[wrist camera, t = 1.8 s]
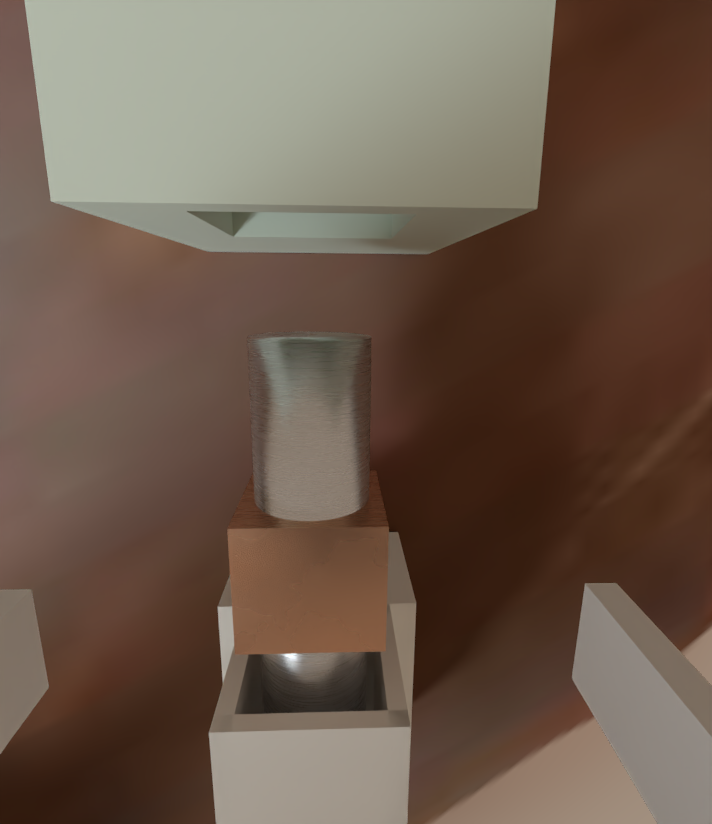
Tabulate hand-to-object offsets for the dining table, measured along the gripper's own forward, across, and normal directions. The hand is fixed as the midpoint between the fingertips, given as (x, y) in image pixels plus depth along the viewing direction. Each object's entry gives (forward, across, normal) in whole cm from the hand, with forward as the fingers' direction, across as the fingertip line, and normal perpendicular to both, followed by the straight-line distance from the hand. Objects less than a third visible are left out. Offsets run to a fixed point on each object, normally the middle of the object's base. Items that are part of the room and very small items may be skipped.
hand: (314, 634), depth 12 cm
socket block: (+13, 0, -12) cm, 18 cm away
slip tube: (+6, 0, +3) cm, 7 cm away
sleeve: (+13, 0, +10) cm, 17 cm away
